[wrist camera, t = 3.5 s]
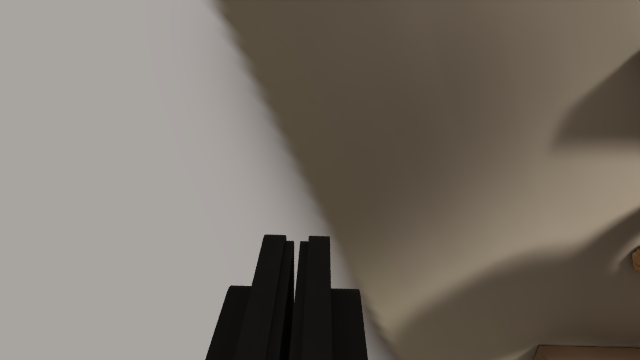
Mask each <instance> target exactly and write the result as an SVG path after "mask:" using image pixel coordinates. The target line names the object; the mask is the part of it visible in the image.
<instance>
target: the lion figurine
mask: <svg viewBox="0 0 640 360" xmlns="http://www.w3.org/2000/svg"><path fill="white" fill-rule="evenodd" d="M632 259H633V267H634V269H635V270H636V271H638V272H639V273H640V247H639V248H638V249H637V250H636V251H635V252H634V253H633V254H632Z"/></svg>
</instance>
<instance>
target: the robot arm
mask: <svg viewBox="0 0 640 360" xmlns="http://www.w3.org/2000/svg"><path fill="white" fill-rule="evenodd" d="M330 272H331V271H330V236H309V242H308V241H301V242H300V251H299V260H298V271H297V281H296V291H295V302H294V241H286V235H264V238H263V242H262V247H261V250H260V254H259V258H258V262H257V266H256V270H255V275H254V279H253V283H252V286H230V287H229V289H228V291H227V294H226V297H225V300H224V303H223V307H222V310H221V313H220V316H219V319H218V322H217V325H216V328H215V331H214V335H213V337H212V341H211V344H210V347H209V350H208V353H207V356H206V359H205V360H368V357H367V348H366V340H365V331H364V322H363V313H362V305H361V296H360V291H359V289H331V273H330Z"/></svg>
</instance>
